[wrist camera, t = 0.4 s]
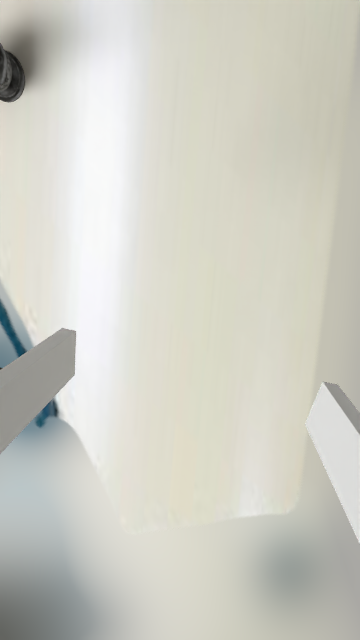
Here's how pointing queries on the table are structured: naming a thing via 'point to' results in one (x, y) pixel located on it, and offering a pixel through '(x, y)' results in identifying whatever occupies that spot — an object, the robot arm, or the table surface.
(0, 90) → the dark grey tapered piece
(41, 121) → the table surface
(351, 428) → the robot arm
